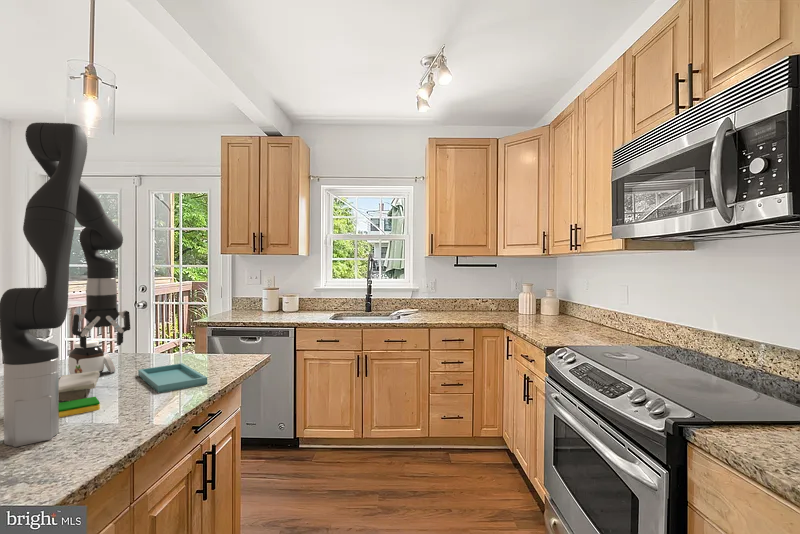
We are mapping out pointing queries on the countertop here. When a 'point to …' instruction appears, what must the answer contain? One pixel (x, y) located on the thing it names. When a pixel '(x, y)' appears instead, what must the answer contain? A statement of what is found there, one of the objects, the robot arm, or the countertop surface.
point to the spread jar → (89, 359)
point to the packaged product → (77, 385)
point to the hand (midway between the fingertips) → (102, 346)
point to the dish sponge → (78, 406)
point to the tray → (172, 377)
